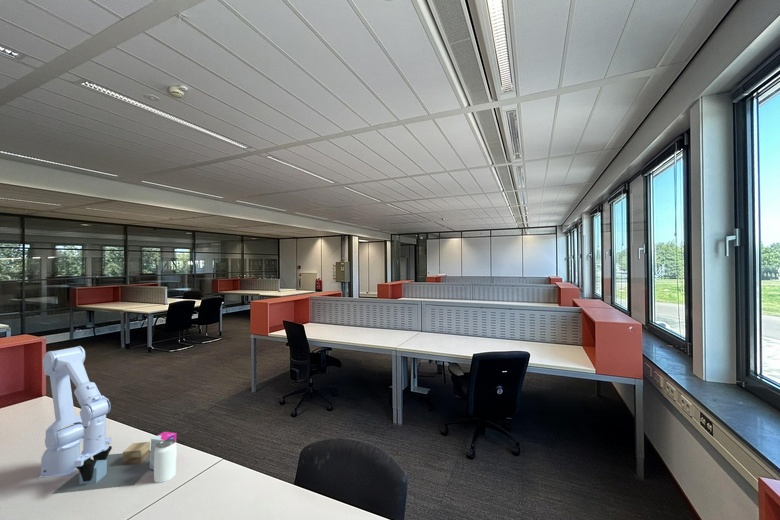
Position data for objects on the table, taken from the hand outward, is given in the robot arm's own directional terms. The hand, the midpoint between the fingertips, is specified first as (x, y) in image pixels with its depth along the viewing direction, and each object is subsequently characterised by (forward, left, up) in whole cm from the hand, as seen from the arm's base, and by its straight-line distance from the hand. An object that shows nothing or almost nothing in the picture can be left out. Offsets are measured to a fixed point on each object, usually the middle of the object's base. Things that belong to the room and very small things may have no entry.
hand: (93, 475), depth 111 cm
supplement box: (+20, +4, -2) cm, 20 cm away
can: (+24, -3, -2) cm, 24 cm away
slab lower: (+8, +10, -1) cm, 13 cm away
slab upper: (+8, +10, +1) cm, 13 cm away
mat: (+4, +5, -2) cm, 7 cm away
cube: (0, 0, -1) cm, 1 cm away
